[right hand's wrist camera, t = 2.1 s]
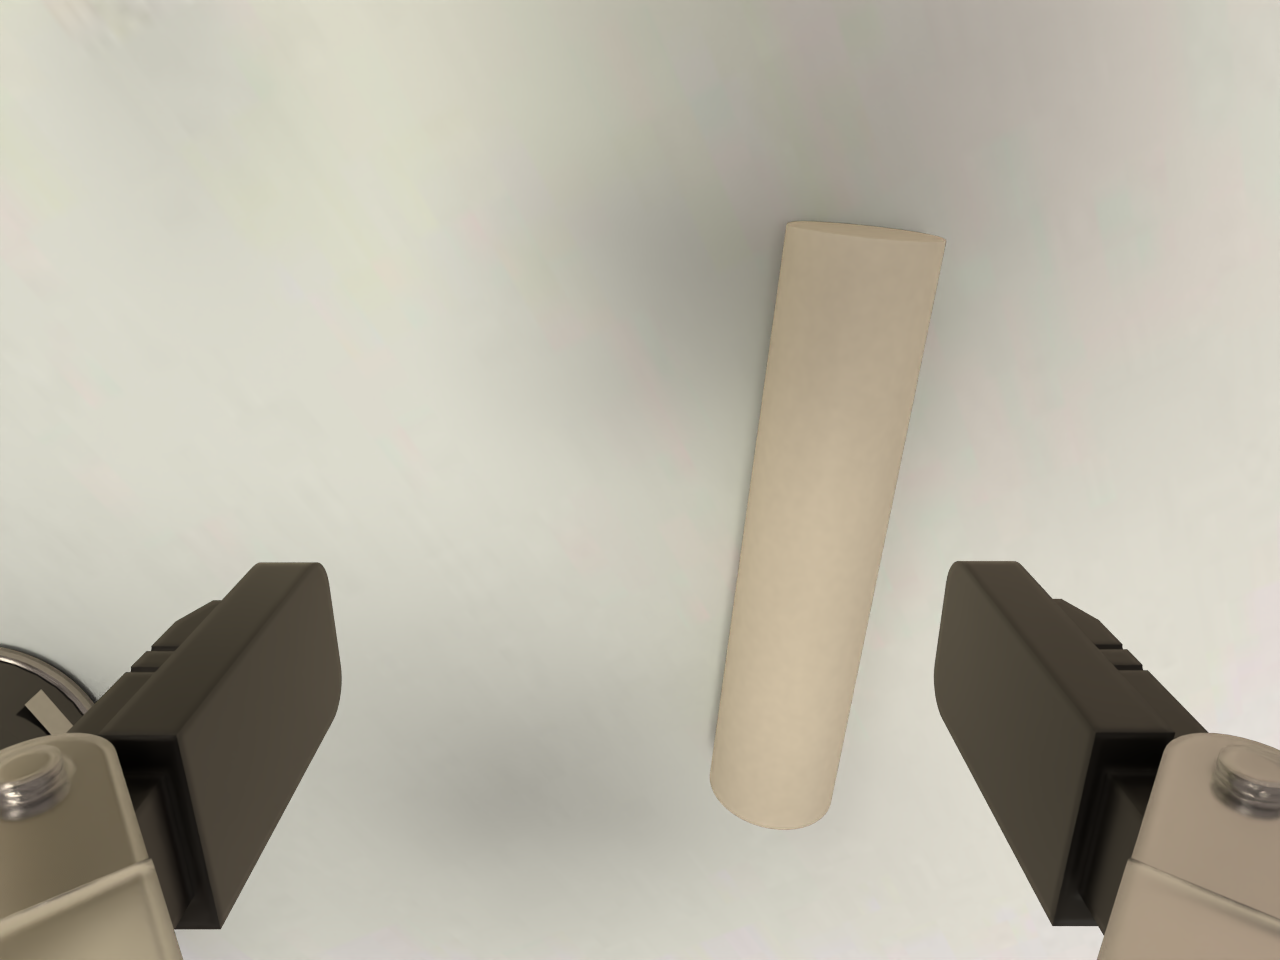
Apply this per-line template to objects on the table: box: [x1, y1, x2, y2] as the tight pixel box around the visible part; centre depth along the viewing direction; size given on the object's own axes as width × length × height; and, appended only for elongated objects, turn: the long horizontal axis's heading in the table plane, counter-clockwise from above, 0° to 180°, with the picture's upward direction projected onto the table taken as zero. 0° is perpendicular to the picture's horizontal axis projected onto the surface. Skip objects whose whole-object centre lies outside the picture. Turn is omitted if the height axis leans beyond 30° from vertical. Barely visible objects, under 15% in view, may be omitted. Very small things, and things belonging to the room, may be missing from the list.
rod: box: [710, 221, 946, 830], centre depth 34 cm, size 24×5×5 cm, turn 175°
